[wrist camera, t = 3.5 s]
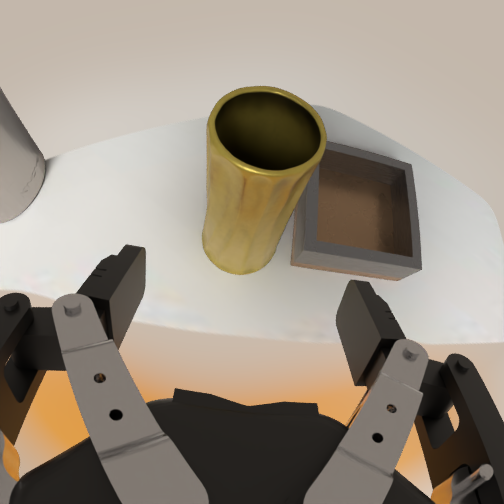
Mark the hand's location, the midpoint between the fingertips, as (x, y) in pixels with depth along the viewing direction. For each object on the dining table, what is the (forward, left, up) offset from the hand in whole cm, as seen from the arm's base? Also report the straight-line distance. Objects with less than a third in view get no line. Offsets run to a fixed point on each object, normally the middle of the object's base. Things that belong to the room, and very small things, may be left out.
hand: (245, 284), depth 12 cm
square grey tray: (+9, +10, -13) cm, 19 cm away
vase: (0, +7, -13) cm, 15 cm away
